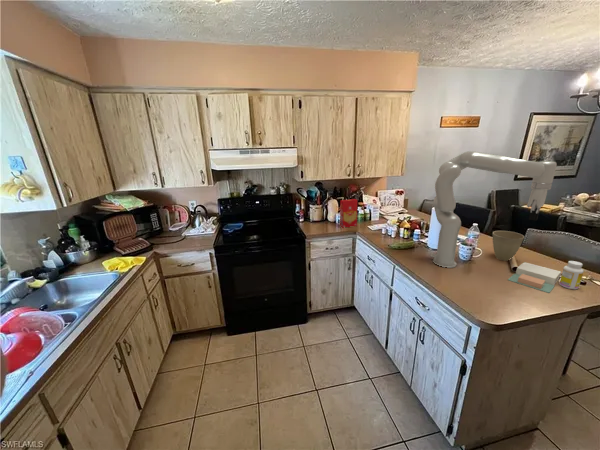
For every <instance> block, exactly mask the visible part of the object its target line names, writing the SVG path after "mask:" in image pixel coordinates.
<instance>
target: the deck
mask: <svg viewBox="0 0 600 450" xmlns="http://www.w3.org/2000/svg"><path fill="white" fill-rule="evenodd" d="M515 274H517V275H522V274H524V275H528V276H531V277H535V278H538V279H542V280H545V283H548V284H551V285H555V284H557V282H558V281H559V280H560V278H561V275H562V271H560V270H556V269H552V268H549V267H544V266H541V265H537V264H533V263H530V262H526V261H524V262H523V263H521V264H520V265H519V266H518V267H517V268H516V271H515Z"/></svg>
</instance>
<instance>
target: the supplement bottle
mask: <svg viewBox="0 0 600 450" xmlns="http://www.w3.org/2000/svg"><path fill="white" fill-rule="evenodd" d="M582 267H583V263H582V262H580V261H576V260H575V261H574V260H568V262H567V265H565V266H563V268H562V271H561V274H560V278H559V285H560V286H561V287H563V288H565V289H569V290H578V289H579V287H580V286H581V282H582V278H583V275H584V269H583V268H582Z"/></svg>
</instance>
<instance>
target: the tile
mask: <svg viewBox="0 0 600 450" xmlns="http://www.w3.org/2000/svg"><path fill="white" fill-rule="evenodd" d="M518 282H520V283H523V284H526V285H529V286H533V287H536V288H539V289H541V288H542V287H543V286H544V284H545V280H542V279H538V278H535V277H531V276H528V275H524V274H522V275H521V276H520V277H519V278H518Z"/></svg>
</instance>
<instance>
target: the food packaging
mask: <svg viewBox="0 0 600 450" xmlns="http://www.w3.org/2000/svg"><path fill="white" fill-rule="evenodd" d="M339 201H340V203H339V204H340V205H339V226H341V227H342V229H345V228H344V227H348V228H351V227H350V226H354V227H357V226H358V199H356V198H351V199H341V200H339ZM341 227H340V228H341Z"/></svg>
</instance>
